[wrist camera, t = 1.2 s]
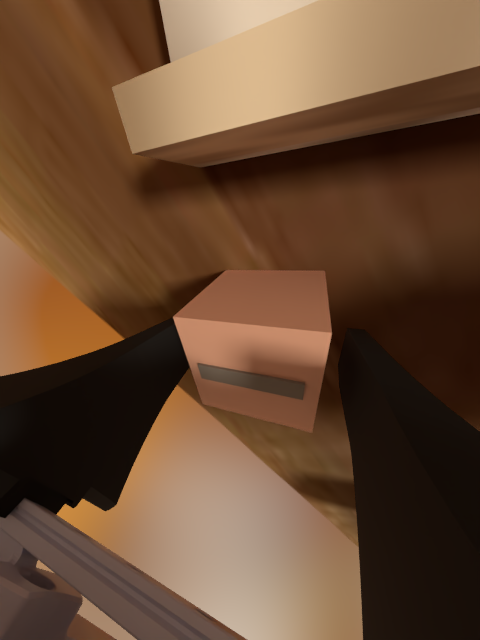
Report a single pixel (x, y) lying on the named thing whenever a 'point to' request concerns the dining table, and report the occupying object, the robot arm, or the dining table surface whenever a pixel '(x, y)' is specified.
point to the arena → (299, 75)
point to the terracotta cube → (260, 343)
